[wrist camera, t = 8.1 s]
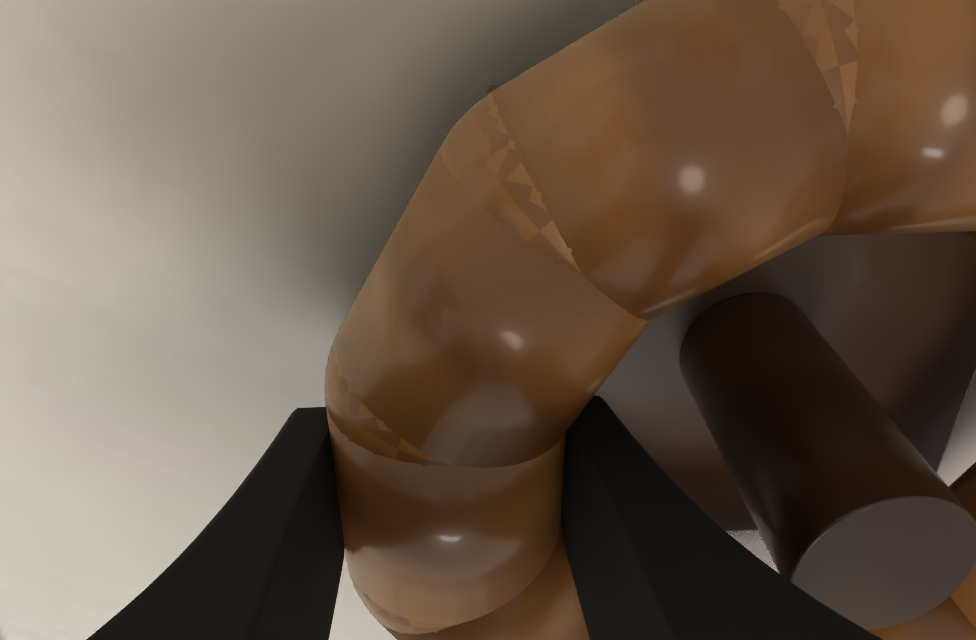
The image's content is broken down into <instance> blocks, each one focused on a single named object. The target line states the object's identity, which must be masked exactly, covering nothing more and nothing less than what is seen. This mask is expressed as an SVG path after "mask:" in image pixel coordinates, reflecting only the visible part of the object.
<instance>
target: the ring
mask: <svg viewBox="0 0 976 640" xmlns="http://www.w3.org/2000/svg"><path fill="white" fill-rule="evenodd" d="M932 232H960V233H962V234H963V235H965V236H966V237H968V238H969V239H971V240H973V241H974V242H976V0H643V1H641V2H640V3H638V4H636V5H635V6H633V7H631V8H630V9H628V10H626V11H625V12H623V13H621V14H620V15H618V16H616V17H615V18H613V19H611V20H610V21H608V22H606V23H605V24H603V25H601V26H600V27H598V28H597V29H595V30H593V31H592V32H590V33H588V34H587V35H585V36H583V37H582V38H580V39H578V40H577V41H575V42H573V43H572V44H570V45H568V46H567V47H565V48H563V49H562V50H560V51H558V52H557V53H555V54H553V55H552V56H550V57H548V58H547V59H545V60H543V61H542V62H540V63H538V64H537V65H535V66H533V67H532V68H530V69H528V70H527V71H525V72H523V73H522V74H520V75H518V76H517V77H515V78H513V79H512V80H510V81H508V82H507V83H505V84H503V85H502V86H500V87H498V88H497V89H495V90H493V91H492V92H491V93H489V94H488V95H487V96H485V97H484V98H483V99H481V100H479V101H478V102H477V103H476V104H475V105H473V106H472V107H471V108H469V109H468V111H467V112H466V113H465V114H464V115H463V116H462V117H461V118H460V119H459V120H458V121H457V122H456V124H455V125H454V126H453V127H452V128H451V130H450V131H449V133H448V135H447V136H446V138H445V139H444V141H443V142H442V144H441V146H440V147H439V149H438V151H437V153H436V155H435V157H434V158H433V160H432V162H431V164H430V166H429V167H428V169H427V171H426V173H425V175H424V176H423V178H422V180H421V182H420V184H419V185H418V187H417V189H416V191H415V193H414V194H413V196H412V198H411V200H410V202H409V203H408V205H407V207H406V209H405V211H404V212H403V214H402V216H401V218H400V220H399V221H398V223H397V225H396V227H395V229H394V230H393V232H392V234H391V236H390V238H389V239H388V241H387V243H386V245H385V247H384V248H383V250H382V252H381V254H380V256H379V257H378V259H377V261H376V263H375V265H374V266H373V268H372V270H371V272H370V274H369V275H368V277H367V279H366V281H365V283H364V284H363V286H362V288H361V290H360V292H359V293H358V295H357V297H356V299H355V301H354V303H353V304H352V306H351V308H350V310H349V312H348V313H347V315H346V317H345V319H344V321H343V322H342V324H341V326H340V328H339V330H338V333H337V335H336V337H335V339H334V342H333V344H332V347H331V350H330V353H329V356H328V361H327V366H326V374H325V402H326V410H327V418H328V425H329V432H330V440H331V447H332V455H333V463H334V470H335V478H336V485H337V493H338V501H339V508H340V516H341V524H342V531H343V539H344V547H345V557H346V562H347V565H348V569H349V573H350V577H351V579H352V582H353V585H354V587H355V589H356V591H357V593H358V595H359V596H360V598H361V600H362V601H363V603H364V605H365V606H366V607H367V609H368V610H369V612H370V613H371V614H372V615H373V616H374V617H375V619H377V620H378V622H379V623H380V624H381V625H382V626H384V627H385V628H386V629H387V630H388V631H389V632H390V633H391V634H392V635H393V636H394V637H395V638H396V639H397V640H590V638H589V635H588V631H587V627H586V624H585V620H584V616H583V613H582V609H581V605H580V602H579V598H578V594H577V591H576V587H575V583H574V579H573V576H572V572H571V568H570V564H569V561H568V557H567V553H566V549H565V543H564V533H563V525H562V518H561V506H562V491H563V475H564V460H565V445H566V431H567V430H568V429H569V427H570V426H571V425H572V424H573V422H574V421H575V420H576V418H577V417H578V416H579V414H580V413H581V412H582V410H583V409H584V408H585V407H586V405H587V404H588V403H589V401H590V400H591V399H592V397H593V396H594V395H595V394H596V392H597V391H598V390H599V388H600V387H601V386H602V384H603V383H604V382H605V381H606V379H607V378H608V377H609V375H610V374H611V373H612V371H613V370H614V369H615V367H616V366H617V365H618V364H619V362H620V361H621V360H622V358H623V357H624V356H625V354H626V353H627V352H628V351H629V349H630V348H631V347H632V345H633V344H634V343H635V341H636V340H637V339H638V337H639V336H640V335H641V334H642V332H643V331H644V330H645V328H646V327H647V326H648V324H649V323H650V322H651V321H652V319H654V318H656V317H658V316H660V315H662V314H664V313H666V312H668V311H670V310H672V309H674V308H676V307H678V306H680V305H682V304H684V303H686V302H688V301H690V300H692V299H694V298H696V297H698V296H700V295H702V294H704V293H705V292H707V291H709V290H711V289H713V288H715V287H717V286H719V285H721V284H723V283H725V282H727V281H729V280H731V279H733V278H735V277H737V276H739V275H741V274H743V273H745V272H747V271H749V270H751V269H753V268H755V267H757V266H759V265H761V264H763V263H764V262H766V261H768V260H770V259H772V258H774V257H776V256H778V255H780V254H782V253H784V252H786V251H788V250H790V249H792V248H794V247H796V246H798V245H800V244H802V243H804V242H806V241H808V240H810V239H812V238H814V237H816V236H830V235H864V234H898V233H932ZM949 489H950V490H951V491H952V492H953V494H954V495H955V496H956V497H957V498H958V500H959V501H960V502H961V503H962V504H963V506H964V507H965V508H966V509H967V510H968V512H969V513H970V514H971V515H972V517H973V518H974V519H975V521H976V462H975V463H974V464H973V465H972V466H971V467H970V468H968V469H967V470H966V471H965V472H964V473H963V474H962V475H961V476H960V477H959V478H957V479H956V480H955V481H954V482H953V483H952V484H951V485H950V486H949ZM867 631H869V632H870V633H872V634H874V635H876V636H877V637H879V638H881V639H882V640H976V565H975V566H974V568H973V570H972V572H971V573H970V575H969V576H968V578H967V579H966V580H965V581H964V583H963V584H962V585H961V586H960V587H959V588H958V589H957V590H956V591H955V592H954V593H953V594H952V595H950V596H949V597H948V598H947V599H945V600H944V601H943V602H941V603H940V604H938V605H937V606H935V607H934V608H932V609H930V610H928V611H927V612H925V613H923V614H921V615H919V616H917V617H914V618H912V619H910V620H907V621H904V622H901V623H898V624H895V625H891V626H887V627H883V628H877V629H871V630H867Z"/></svg>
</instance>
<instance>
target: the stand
mask: <svg viewBox="0 0 976 640" xmlns="http://www.w3.org/2000/svg"><path fill="white" fill-rule="evenodd" d="M498 87H500V86H490V87H488V90H487V95H488V94H489V93H491V92H492V91H493V90H495V89H497V88H498ZM975 372H976V242H974V241H973V240H971V239H969V238H968V237H966V236H965V235H963V234H962V233H960V232H932V233H898V234H864V235H830V236H816V237H814V238H812V239H810V240H808V241H806V242H804V243H802V244H800V245H798V246H796V247H794V248H792V249H790V250H788V251H786V252H784V253H782V254H780V255H778V256H776V257H774V258H772V259H770V260H768V261H766V262H764V263H763V264H761V265H759V266H757V267H755V268H753V269H751V270H749V271H747V272H745V273H743V274H741V275H739V276H737V277H735V278H733V279H731V280H729V281H727V282H725V283H723V284H721V285H719V286H717V287H715V288H713V289H711V290H709V291H707V292H705V293H704V294H702V295H700V296H698V297H696V298H694V299H692V300H690V301H688V302H686V303H684V304H682V305H680V306H678V307H676V308H674V309H672V310H670V311H668V312H666V313H664V314H662V315H660V316H658V317H656V318H654V319H652V321H651V322H650V323H649V324H648V326H647V327H646V328H645V330H644V331H643V332H642V334H641V335H640V336H639V337H638V339H637V340H636V341H635V343H634V344H633V345H632V347H631V348H630V349H629V351H628V352H627V353H626V354H625V356H624V357H623V358H622V360H621V361H620V362H619V364H618V365H617V366H616V367H615V369H614V370H613V371H612V373H611V374H610V375H609V377H608V378H607V379H606V381H605V382H604V383H603V384H602V386H601V387H600V388H599V390H598V391H597V392H596V394H595V395H594V396H600V397H602V398H603V399H604V400H605V401H606V403H607V404H608V405H609V406H610V408H611V409H612V410H613V412H614V413H615V414H616V415H617V417H618V418H619V419H620V420H621V422H622V423H623V424H624V425H625V427H626V428H627V429H628V430H629V432H630V433H631V434H632V435H633V436H634V438H635V439H636V440H637V441H638V442H639V444H640V445H641V446H642V447H643V448H644V449H645V451H646V452H647V453H648V454H649V455H650V456H651V457H652V459H653V460H654V461H655V462H656V463H657V464H658V465H659V466H660V467H661V468H662V469H663V470H664V472H665V473H666V474H667V475H668V476H669V477H670V478H671V479H672V480H673V481H674V482H675V483H676V484H677V485H678V487H679V488H680V489H681V490H682V491H683V492H684V493H685V494H686V495H687V496H688V497H689V498H690V499H691V500H692V501H693V502H694V503H696V504H697V505H698V506H699V507H700V508H701V509H702V510H703V511H704V512H705V513H706V514H707V515H708V516H709V517H710V518H711V519H712V520H713V521H715V522H716V523H717V524H718V525H719V526H720V527H721V528H722V529H723V530H724V531H726V532H729V531H748V530H759V532H760V534H761V536H762V538H763V540H764V542H765V544H766V546H767V549H768V551H769V553H770V555H771V557H772V559H773V561H774V563H775V565H776V567H777V569H778V571H779V573H780V575H782V576H783V577H785V578H786V579H787V580H789V581H790V582H792V583H793V584H795V585H796V586H798V587H799V588H800V589H802V590H803V591H805V592H806V593H808V594H809V595H810V596H812V597H813V598H815V599H816V600H818V601H820V602H821V603H823V604H824V605H826V606H827V607H829V608H831V609H832V610H834V611H835V612H837V613H838V614H840V615H842V616H843V617H845V618H847V619H848V620H850V621H852V622H853V623H855V624H857V625H859V626H860V627H862V628H864V629H865V630H871V629H877V628H883V627H887V626H891V625H895V624H898V623H901V622H904V621H907V620H910V619H912V618H914V617H917V616H919V615H921V614H923V613H925V612H927V611H928V610H930V609H932V608H934V607H935V606H937V605H938V604H940V603H941V602H943V601H944V600H945V599H947V598H948V597H949V596H950V595H952V594H953V593H954V592H955V591H956V590H957V589H958V588H959V587H960V586H961V585H962V584H963V583H964V581H965V580H966V579H967V578H968V576H969V575H970V573H971V572H972V570H973V568H974V566H975V565H976V521H975V519H974V518H973V517H972V515H971V514H970V513H969V512H968V510H967V509H966V508H965V507H964V506H963V504H962V503H961V502H960V501H959V500H958V498H957V497H956V496H955V495H954V494H953V492H952V491H951V490H950V489H949V487H948V486H947V485H946V484H945V483H944V481H943V480H942V479H941V478H940V477H939V475H938V474H937V471H938V469H939V466H940V463H941V461H942V458H943V456H944V453H945V450H946V448H947V445H948V442H949V440H950V437H951V435H952V432H953V429H954V427H955V424H956V422H957V419H958V416H959V414H960V411H961V408H962V406H963V403H964V401H965V398H966V395H967V393H968V390H969V387H970V385H971V382H972V380H973V377H974V374H975Z"/></svg>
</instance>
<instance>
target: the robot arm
mask: <svg viewBox="0 0 976 640" xmlns="http://www.w3.org/2000/svg"><path fill="white" fill-rule="evenodd" d="M561 518H562V525H563V533H564V543H565V549H566V553H567V557H568V561H569V564H570V568H571V572H572V576H573V579H574V583H575V587H576V591H577V594H578V598H579V602H580V605H581V609H582V613H583V616H584V620H585V624H586V627H587V631H588V635H589V638H590V640H882V639H881V638H879V637H877V636H876V635H874V634H872V633H870V632H869V631H867V630H865V629H864V628H862V627H860V626H859V625H857V624H855V623H853V622H852V621H850V620H848V619H847V618H845V617H843V616H842V615H840V614H838V613H837V612H835V611H834V610H832V609H831V608H829V607H827V606H826V605H824V604H823V603H821V602H820V601H818V600H816V599H815V598H813V597H812V596H810V595H809V594H808V593H806V592H805V591H803V590H802V589H800V588H799V587H798V586H796V585H795V584H793V583H792V582H790V581H789V580H787V579H786V578H785V577H783V576H782V575H780V574H779V573H777V572H776V571H775V570H773V569H772V568H771V567H769V566H768V565H767V564H765V563H764V562H763V561H761V560H760V559H759V558H757V557H756V556H755V555H754V554H752V553H751V552H750V551H749V550H747V549H746V548H745V547H744V546H743V545H741V544H740V543H739V542H738V541H736V540H735V539H734V538H733V537H732V536H730V535H729V534H728V533H727V532H726V531H724V530H723V529H722V528H721V527H720V526H719V525H718V524H717V523H716V522H715V521H713V520H712V519H711V518H710V517H709V516H708V515H707V514H706V513H705V512H704V511H703V510H702V509H701V508H700V507H699V506H698V505H697V504H696V503H694V502H693V501H692V500H691V499H690V498H689V497H688V496H687V495H686V494H685V493H684V492H683V491H682V490H681V489H680V488H679V487H678V485H677V484H676V483H675V482H674V481H673V480H672V479H671V478H670V477H669V476H668V475H667V474H666V473H665V472H664V470H663V469H662V468H661V467H660V466H659V465H658V464H657V463H656V462H655V461H654V460H653V459H652V457H651V456H650V455H649V454H648V453H647V452H646V451H645V449H644V448H643V447H642V446H641V445H640V444H639V442H638V441H637V440H636V439H635V438H634V436H633V435H632V434H631V433H630V432H629V430H628V429H627V428H626V427H625V425H624V424H623V423H622V422H621V420H620V419H619V418H618V417H617V415H616V414H615V413H614V412H613V410H612V409H611V408H610V406H609V405H608V404H607V403H606V401H605V400H604V399H603V398H602V397H600V396H593V397H592V399H591V400H590V401H589V403H588V404H587V405H586V407H585V408H584V409H583V410H582V412H581V413H580V414H579V416H578V417H577V418H576V420H575V421H574V422H573V424H572V425H571V426H570V427H569V429H568V430H567V431H566V445H565V460H564V475H563V491H562V506H561ZM344 548H345V547H344V539H343V531H342V524H341V516H340V508H339V501H338V493H337V485H336V478H335V470H334V463H333V455H332V447H331V440H330V432H329V425H328V418H327V410H326V407H313V408H297V409H296V410H295V411H294V412H293V413H292V414H291V415H290V417H289V418H288V420H287V421H286V423H285V424H284V426H283V427H282V429H281V430H280V432H279V433H278V435H277V436H276V438H275V439H274V441H273V442H272V443H271V445H270V446H269V448H268V449H267V450H266V452H265V453H264V455H263V456H262V457H261V459H260V460H259V462H258V463H257V464H256V466H255V467H254V468H253V470H252V471H251V472H250V473H249V475H248V476H247V477H246V479H245V480H244V481H243V483H242V484H241V485H240V486H239V488H238V489H237V490H236V492H235V493H234V494H233V496H232V497H231V498H230V499H229V500H228V502H227V503H226V504H225V505H224V506H223V508H222V509H221V510H220V511H219V512H218V513H217V515H216V516H215V517H214V518H213V519H212V520H211V521H210V523H209V524H208V525H207V526H206V527H205V528H204V530H203V531H202V532H201V533H200V534H199V535H198V536H197V538H196V539H195V540H194V541H193V542H192V543H191V544H190V545H189V546H188V547H187V548H186V549H185V550H184V551H183V553H182V554H181V555H180V556H179V557H178V558H177V559H176V560H175V561H174V562H173V563H172V564H171V565H170V566H169V567H168V568H167V569H166V570H165V571H164V572H163V573H162V574H161V575H160V576H159V577H158V578H157V579H156V580H154V581H153V582H152V583H151V584H150V585H149V586H148V587H147V588H146V589H145V590H144V591H143V592H142V593H141V594H139V595H138V596H137V597H136V598H135V599H134V600H133V601H132V602H130V603H129V604H128V605H127V606H126V607H125V608H124V609H122V610H121V611H120V612H119V613H118V614H117V615H115V616H114V617H113V618H112V619H111V620H109V621H108V622H107V623H106V624H105V625H104V626H102V627H101V628H100V629H99V630H98V631H96V632H95V633H94V634H93V635H92V636H90V637H89V638H88V639H87V640H329V635H330V629H331V624H332V619H333V614H334V609H335V603H336V598H337V593H338V587H339V582H340V577H341V571H342V566H343V560H344Z"/></svg>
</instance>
